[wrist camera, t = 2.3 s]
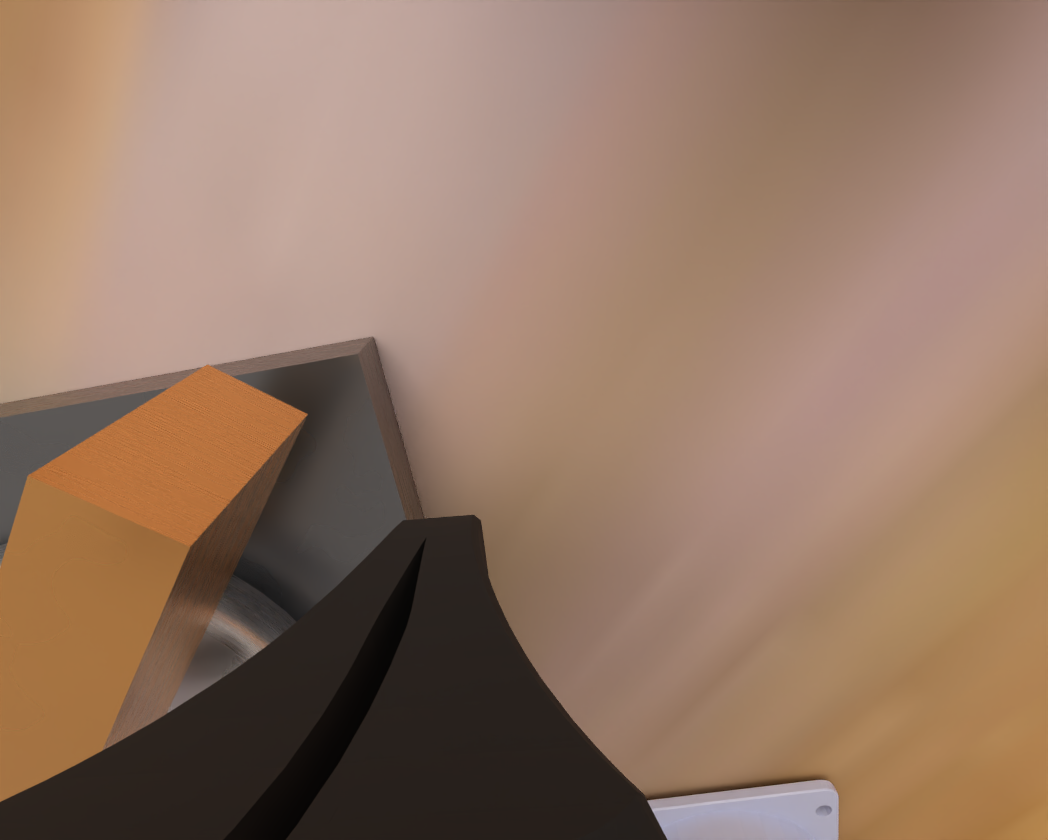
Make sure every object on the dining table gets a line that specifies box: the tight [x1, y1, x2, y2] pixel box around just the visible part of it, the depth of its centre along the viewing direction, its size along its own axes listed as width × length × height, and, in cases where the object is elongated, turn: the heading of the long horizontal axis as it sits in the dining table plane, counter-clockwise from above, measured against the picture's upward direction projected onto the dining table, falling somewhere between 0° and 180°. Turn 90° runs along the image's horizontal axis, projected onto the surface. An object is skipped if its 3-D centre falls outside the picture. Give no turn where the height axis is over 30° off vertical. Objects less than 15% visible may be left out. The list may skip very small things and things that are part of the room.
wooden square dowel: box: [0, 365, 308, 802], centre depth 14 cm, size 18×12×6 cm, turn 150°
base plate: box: [0, 337, 424, 622], centre depth 18 cm, size 18×18×2 cm
